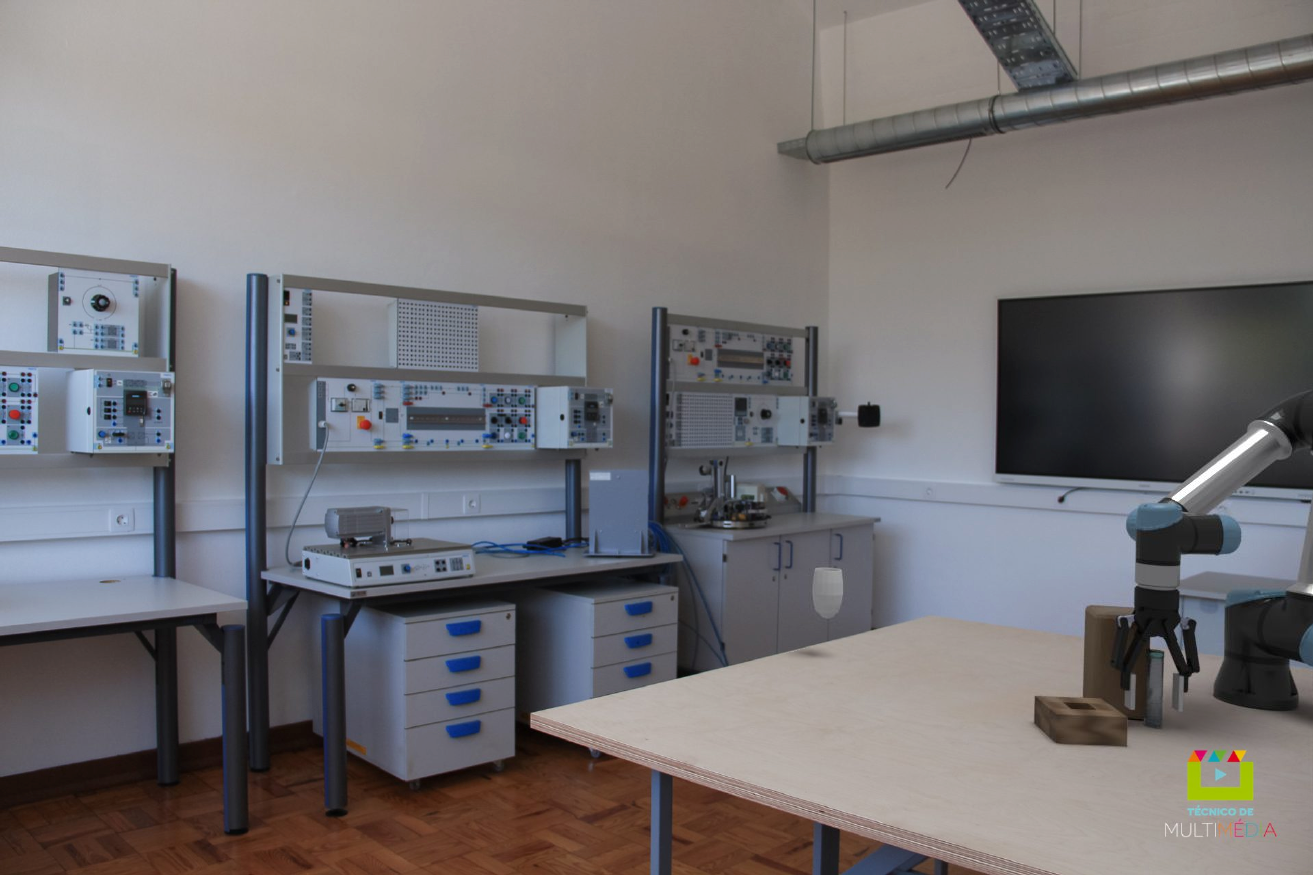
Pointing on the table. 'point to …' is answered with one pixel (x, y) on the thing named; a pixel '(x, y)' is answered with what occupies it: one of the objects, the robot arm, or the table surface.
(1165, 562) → the robot arm
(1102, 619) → the wooden block
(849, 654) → the table surface
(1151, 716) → the peg
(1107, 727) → the socket block
